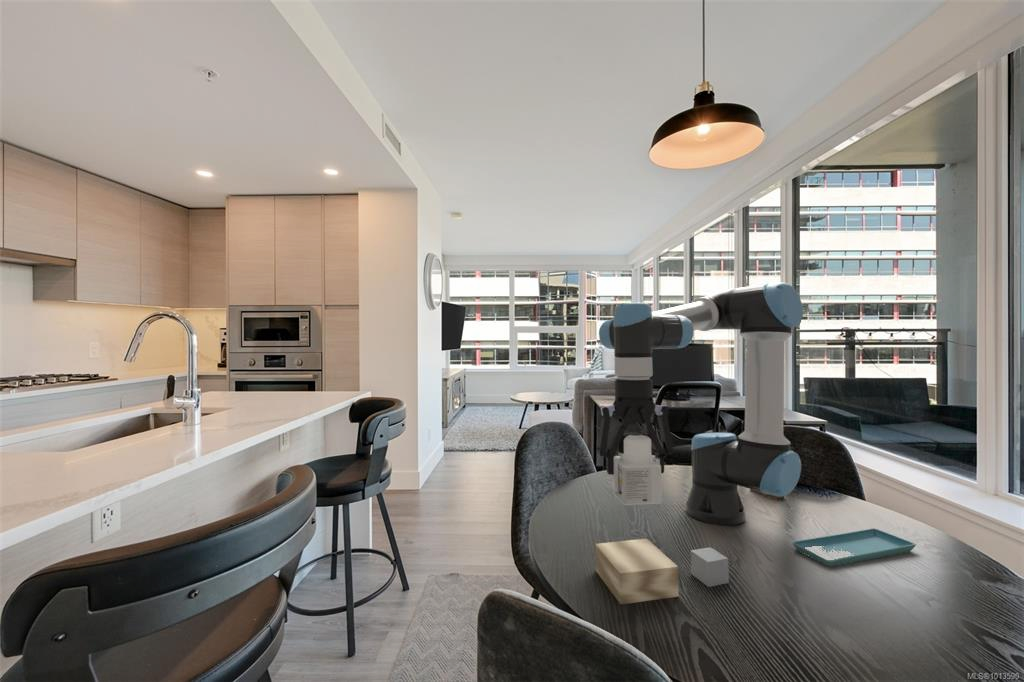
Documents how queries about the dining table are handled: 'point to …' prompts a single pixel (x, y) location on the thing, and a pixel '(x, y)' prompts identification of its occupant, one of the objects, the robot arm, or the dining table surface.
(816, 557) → the teal serving tray
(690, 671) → the dining table surface
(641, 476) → the container
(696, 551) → the slate cube
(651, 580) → the maple block
